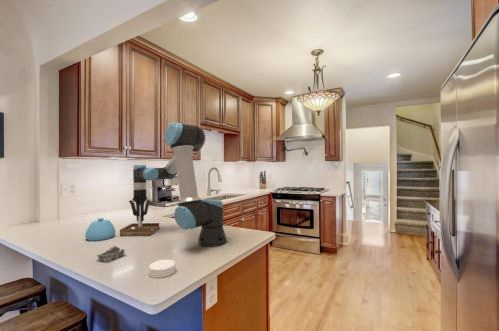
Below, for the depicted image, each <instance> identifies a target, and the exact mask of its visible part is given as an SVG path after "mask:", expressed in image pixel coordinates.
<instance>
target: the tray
mask: <svg viewBox="0 0 499 331" xmlns="http://www.w3.org/2000/svg"><path fill="white" fill-rule="evenodd" d="M132 227H135V228H136V229H131V228H132ZM159 230H160V222H153V223H151V222H148V223H143V222H142V226H141V227H138V222H137V223H130V224H128V225H125V226H124V227H122V228H121V229H119V237H150V236H152V235H154V234H155V233H156V232H157V231H159Z"/></svg>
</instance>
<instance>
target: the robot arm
mask: <svg viewBox="0 0 499 331" xmlns="http://www.w3.org/2000/svg"><path fill="white" fill-rule="evenodd" d="M163 138H164V142H165V143H166V145H168V146H170V151H171V152H173V153H174V155H173V157H172V158H171V159H170V160H169V161H168V163H167V164H166V165H165V166H164V167H147V165H146V164H134V165H133V170H132V173H133V174H132V176H133V178H132V179H133V182H132V183H133V188H132V189H133V198H132V199H131V200H129V201H128V202H129V204H130V206H131V211H132V214H133V216H134V217H136V222H137V223H138V227H141V226H142V223H143V222H144V220H145V219H144V218H145V217H144V216H146V215H147V214H148V212H149V206H150V203H151V202H152V200H151V199H148V197H147V181H156V180H157V181H161V180H174V179H176V178H177V183H178V189H179V198H180V200H179V201H178V202H177V207H176V208H174V209H175V210H174V212H173V218H174V221H175V223H176V224H177V226H178V227H179V228H180V229H182V230H184V231H186V230H193V229H196V228H199V227H200V228H201V229H200V233H199V236H198V239H197V241H198V242H197V243H198V245H200V246H202V247H210V248H211V247H219V246H223V245H225V244H226V243H227V236H226V232H225V229H224V204H223V200H222V201H221V200H218V199H202V198H200V197H199V195H198V188H197V181H196V179H197V178H196V173H195V167H194V158H193V155H194V154H195V153H197V152H199V151H200V150H201V149H202V148H203V147H204V145H205V142H206V134H205V131H204V129H202V128H201V127H200V126H198V125H193V124H187V123H186V124H185V123H181V122H171V123H170V124H168V126H167V127H166V129H165V131H164V137H163ZM145 202H146V203H145Z"/></svg>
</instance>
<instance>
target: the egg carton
mask: <svg viewBox="0 0 499 331" xmlns="http://www.w3.org/2000/svg"><path fill="white" fill-rule="evenodd" d="M125 251H126V249H125V248H124V249H123V248H121V249H120V247H118V246H117V245H115V246H114V245H113V246H112V247H110V248H109V249H107V250H106V251H104V252H101V253H100V254H97V255H96V257H97V262H103V263H111V262H112V261H113V260H117V259H119V258H121V257H125Z"/></svg>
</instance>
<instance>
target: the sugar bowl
mask: <svg viewBox="0 0 499 331" xmlns="http://www.w3.org/2000/svg"><path fill="white" fill-rule="evenodd" d="M115 234H116V229H115V226H114V224H113V223H112V222H111V220H108V219H104V218H103V217H99V218H97V220H94V221H92V222H91V223H90V224H89V225H88V227H87V228H86V231H85V235H84V236H85V239H87V240H88V241H90V242H99V241H105V239H106V240H108V239H112V238H113V237H114V236H115ZM111 237H112V238H111Z"/></svg>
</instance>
